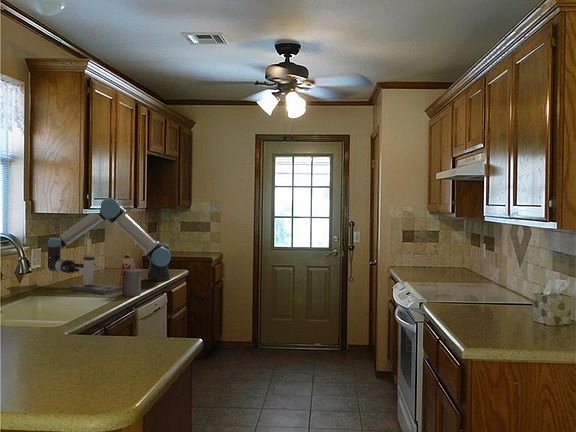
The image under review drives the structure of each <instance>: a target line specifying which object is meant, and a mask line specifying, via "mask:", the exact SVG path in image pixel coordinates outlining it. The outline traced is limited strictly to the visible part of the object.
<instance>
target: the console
mask: <svg viewBox="0 0 576 432" xmlns="http://www.w3.org/2000/svg"><path fill="white" fill-rule="evenodd" d="M71 289H72V291H78V292H87V293H92V292H93V293H94V294H102V295H108V294H113V293H114V294H115V293H117V292H118V293H119V292H122V287H118V285H110V284H108V285H107V284H101V283H96V282H94V284H92V285H84V284H83V283H79V284H74V285H73V284H72V285H69V290H71ZM93 293H92V294H93Z"/></svg>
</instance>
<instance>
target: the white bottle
mask: <svg viewBox="0 0 576 432" xmlns="http://www.w3.org/2000/svg"><path fill="white" fill-rule="evenodd" d="M95 258H96V257H95V256H83V259H82V260H83V264H84V273H82V274H83V275H82V276H83V277H82V281H83V282H82V284H84V285H92V284H94V283H95V281H94V280H95V270H94V263H95Z"/></svg>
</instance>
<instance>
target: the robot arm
mask: <svg viewBox="0 0 576 432" xmlns="http://www.w3.org/2000/svg"><path fill="white" fill-rule="evenodd" d="M101 202H102V203H101ZM101 202H100V203H101V208H100V213H97V214H91V213H89V214H88V215H87V216H85V217H83V218H82V219H81V220H79V221H78V222H77V223H75V224H73V225H72V226H71V227H70V228H68V229H66V230H65V231H64V232H63V233H61V234H60V235H59V236H60V238H57V237H48V238H49V240H48V268H49V270H50V271H49V270H48V271H49V272H59V273H60V274H63V273H65V274H75V273H79V274H80V273H81V274H83V273H84V263H77V262H76V263H75V262H74V260H71V259H66V258H64V259H63V258H61V255H62V254H61V251H62V250H63V249H64V248H66V247H67V246H68V245H70V244H71V243H72V242H74V241H76V240H77V239H78V238H80V237H81V236H83V235H84V234H85V233H86V232H88V231H90V230H91V229H93V228H94V227H95V226H96V225H99V223H100V222H105V221H106V220H108V221H109V222H110V223H111V224H113V225H114V224H115V225H117V226H118V227H119V228H120V229H121V230H122V231H123V232H124V233H125V234H126V235H127V236H128V237H129V238H131V240H132V241H133V242H135V243H136V244H137V246H139V247H140V248H141V249H142V250H143V251H144V255H145V257H147V258H148V259H149V267H148V270H147V273H146V280H147V281H152V282H166V281H170V280H171V274H170V270H169V263H170V261H171V258H172V254H171V251H170V250H169V249H170V247H169V244H168V243H161V242H160V241H159V240H154V239H153V238H152V237H151V236H150V234H148V233H147V231H145V230H144V229H143V228H142V227H141V226H140V225H139V224H137V222H135V220H134V219H132V218H131V217H130V216H129V215H128V214H127V210H126V208H124V207H123V206H122V205H121V204H120V203H119V201H118V200H116V198H113V197H109V198H105V199H103V200H102V201H101ZM49 257H51V258H49ZM95 270H96V271H103V265H99V264H96V263H95V262H94V271H95Z"/></svg>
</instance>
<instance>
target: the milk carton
mask: <svg viewBox="0 0 576 432" xmlns="http://www.w3.org/2000/svg"><path fill="white" fill-rule="evenodd" d="M135 264H136V263H135V258H133V257H132V256H131V254H129V253H128V252H126V255H125V256H123V257H122V262H121V266H120V270H119V271H120V272H119V278H118V283H117V286H118V287H122V284H123V270H124V269H136V265H135Z"/></svg>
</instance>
